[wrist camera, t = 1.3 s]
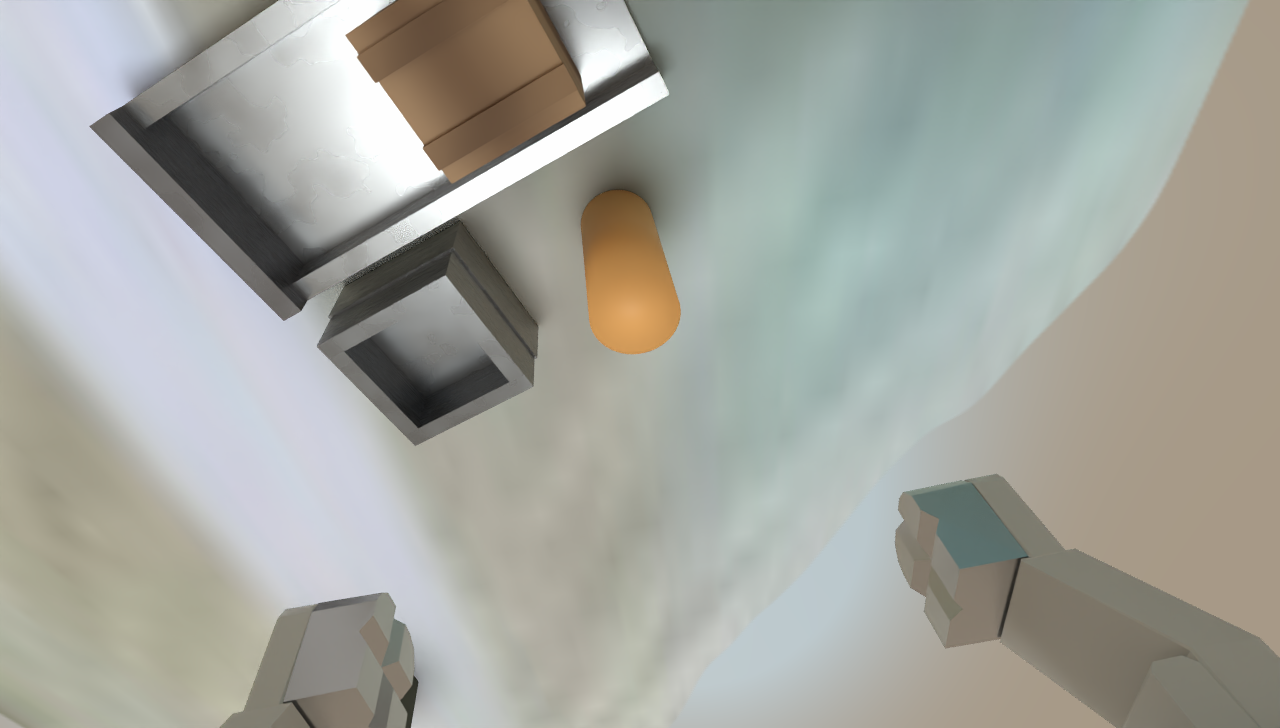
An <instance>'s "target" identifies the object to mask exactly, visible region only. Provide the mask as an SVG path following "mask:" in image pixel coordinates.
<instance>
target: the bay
mask: <svg viewBox="0 0 1280 728" xmlns="http://www.w3.org/2000/svg"><path fill="white" fill-rule="evenodd" d="M394 1H396V0H279V1H277V2H276V3H275V4H273V5H272V6H270V7H269V8H267V9H266V10H264V11H263V12H261V13H260V14H258V15H257V16H255V17H254V18H252V19H251V20H249V21H248V22H246V23H245V24H243V25H242V26H241V27H239V28H238V29H236V30H235V31H233V32H232V33H230V34H229V35H227V36H226V37H224V38H223V39H221V40H220V41H218V42H217V43H215V44H214V45H212V46H211V47H209V48H208V49H207V50H205V51H204V52H202V53H201V54H199V55H198V56H196V57H195V58H193V59H192V60H190V61H189V62H187V63H186V64H184V65H183V66H181V67H180V68H178V69H177V70H175V71H174V72H172V73H171V74H170V75H168V76H167V77H165V78H164V79H162V80H161V81H159V82H158V83H156V84H155V85H153V86H152V87H150V88H149V89H147V90H146V91H144V92H143V93H141V94H140V95H138V96H137V97H136V98H134V99H133V100H131V101H130V102H128V103H127V104H125V105H124V106H122V107H120V108H118V109H116V110H114V111H112V112H110V113H108V114H107V115H105V116H104V117H103V118H101V119H100V120H98V121H97V122H95V123H94V124H92V125H91V126H89V127H90V128H91V129H92V130H93V131H94V132H95V133H96V134H97V135H98V136H99V137H100V138H101V139H102V140H103V141H104V142H105V143H106V144H107V145H108V146H109V147H110V148H111V149H112V150H113V151H114V152H115V153H116V154H117V155H118V156H119V157H120V158H121V159H122V160H123V161H124V162H125V163H126V164H127V165H128V166H129V167H130V168H131V169H132V170H133V171H134V172H135V173H136V174H137V175H138V176H139V177H140V178H141V179H142V180H143V181H144V182H145V183H146V184H147V185H148V186H149V187H150V188H151V189H152V190H153V191H154V192H155V193H156V194H157V195H158V196H159V197H160V198H161V199H162V200H163V201H164V202H165V203H166V204H167V205H168V206H169V207H170V208H171V209H172V210H173V211H174V212H175V213H176V214H177V215H178V216H179V217H180V218H181V219H182V220H183V221H184V222H185V223H186V224H187V225H188V226H189V227H190V228H191V229H192V230H193V231H194V232H195V233H196V234H197V235H198V236H199V237H200V238H201V239H202V240H203V241H204V242H205V243H206V244H207V245H208V246H209V247H210V248H211V249H212V250H213V251H214V252H215V253H216V254H217V255H218V256H219V257H220V258H221V259H222V260H223V261H224V262H225V263H226V264H227V265H228V266H229V267H230V268H231V269H232V270H233V271H234V272H235V273H236V274H237V275H238V276H239V277H240V278H241V279H242V280H243V281H244V282H245V283H246V284H247V285H248V286H249V287H250V288H251V289H252V290H253V291H254V292H255V293H256V294H257V295H258V296H259V297H260V298H261V299H262V300H263V301H264V302H265V303H266V304H267V305H268V306H269V307H270V308H271V309H272V310H273V311H274V312H275V313H276V314H277V315H278V316H279V317H280V318H281V319H282V320H283V321H285V320H286V319H288V318H290V317H292V316H293V315H295V314H297V313H299V312H300V311H301V310H302V309H303V307H304V305H305V304H306V302H307V300H309V299H311V298H313V297H314V296H316V295H318V294H320V293H321V292H323V291H325V290H327V289H328V288H330V287H332V286H334V285H335V284H337V283H339V282H341V281H342V280H344V279H346V278H348V277H350V276H351V275H353V274H355V273H357V272H358V271H360V270H362V269H364V268H365V267H367V266H369V265H371V264H372V263H374V262H376V261H378V260H379V259H381V258H383V257H385V256H386V255H388V254H390V253H392V252H393V251H395V250H397V249H399V248H400V247H402V246H404V245H406V244H407V243H409V242H411V241H413V240H415V239H416V238H418V237H420V236H422V235H423V234H425V233H427V232H429V231H430V230H432V229H434V228H436V227H437V226H439V225H441V224H443V223H444V222H446V221H448V220H450V219H451V218H453V217H455V216H457V215H458V214H460V213H462V212H464V211H465V210H467V209H469V208H471V207H472V206H474V205H476V204H478V203H480V202H481V201H483V200H485V199H487V198H488V197H490V196H492V195H494V194H495V193H497V192H499V191H501V190H502V189H504V188H506V187H508V186H509V185H511V184H513V183H515V182H516V181H518V180H520V179H522V178H523V177H525V176H527V175H529V174H530V173H532V172H534V171H536V170H538V169H539V168H541V167H543V166H545V165H546V164H548V163H550V162H552V161H553V160H555V159H557V158H559V157H560V156H562V155H564V154H566V153H567V152H569V151H571V150H573V149H574V148H576V147H578V146H580V145H581V144H583V143H585V142H587V141H588V140H590V139H592V138H594V137H595V136H597V135H599V134H601V133H603V132H604V131H606V130H608V129H610V128H611V127H613V126H615V125H617V124H618V123H620V122H622V121H624V120H625V119H627V118H629V117H631V116H632V115H634V114H636V113H638V112H639V111H641V110H643V109H645V108H646V107H648V106H650V105H652V104H653V103H655V102H657V101H659V100H661V99H662V98H664V97H666V96H668V95H669V92H668V90H667V88H666V86H665V83H664V81H663V79H662V77H661V75H660V73H659V71H658V69H657V68H656V66H655V64H654V63H653V61H652V59H651V57H650V54H649V52H648V50H647V48H646V46H645V44H644V42H643V40H642V38H641V36H640V34H639V31H638V29H637V27H636V25H635V23H634V21H633V19H632V17H631V15H630V13H629V11H628V8H627V6H626V4H625V2H624V0H540V2H541V3H542V5H543V7H544V9H545V11H546V13H547V14H548V16H549V18H550V20H551V22H552V24H553V25H554V27H555V29H556V31H557V33H558V35H559V36H560V38H561V40H562V42H563V44H564V46H565V47H566V49H567V51H568V53H569V55H570V57H571V58H572V60H573V62H574V64H575V66H576V68H577V69H578V71H579V73H580V75H581V78H582V84H583V90H584V97H585V103H586V106H585V107H584V108H582V109H580V110H578V111H577V112H575V113H573V114H572V115H570V116H568V117H566V118H565V119H563V120H561V121H560V122H558V123H556V124H554V125H553V126H551V127H549V128H547V129H546V130H544V131H542V132H541V133H539V134H537V135H535V136H534V137H532V138H530V139H528V140H527V141H525V142H523V143H522V144H520V145H518V146H516V147H515V148H513V149H511V150H510V151H508V152H506V153H504V154H503V155H501V156H499V157H497V158H496V159H494V160H492V161H491V162H489V163H487V164H485V165H484V166H482V167H480V168H478V169H477V170H475V171H473V172H472V173H470V174H468V175H466V176H465V177H463V178H461V179H460V180H458V181H456V182H454V183H453V184H451V182H450V181H449V179H448V178H447V177H446V175H445V174H444V172H443V171H442V170H440V171H438V170H437V168H436V167H435V165H434V164H433V163H432V161H431V160H430V159H429V157H428V156H427V154H426V153H425V152H424V150H423V149H422V148H423V146H424V145H423V143H422V142H421V140H420V139H419V138H418V136H417V135H416V133H415V132H414V131H413V129H412V128H411V127H410V125H409V124H408V122H407V121H406V120H405V118H404V117H403V115H402V114H401V113H400V111H399V110H398V108H397V107H396V106H395V104H394V103H393V101H392V100H391V99H390V97H389V96H388V94H387V93H386V92H385V90H384V89H383V88H382V86H381V85H380V83H379V82H377V83H376V84H375V82H374V81H373V80H372V78H371V77H370V75H369V74H368V73H367V71H366V70H365V69H364V67H363V66H362V64H361V63H360V62H359V60H358V59H357V56H358V55H359V54H358V53H357V51H356V50H355V49H354V47H353V46H352V44H351V43H350V42H349V40H348V39H347V37H346V36H345V35H346V34H348V33H349V32H350V31H352V30H353V29H355V28H356V27H357V26H359V25H360V24H362V23H363V22H365V21H366V20H367V19H369V18H370V17H372V16H373V15H375V14H376V13H378V12H379V11H381V10H382V9H384V8H385V7H387V6H388V5H390V4H391V3H393V2H394Z"/></svg>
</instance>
